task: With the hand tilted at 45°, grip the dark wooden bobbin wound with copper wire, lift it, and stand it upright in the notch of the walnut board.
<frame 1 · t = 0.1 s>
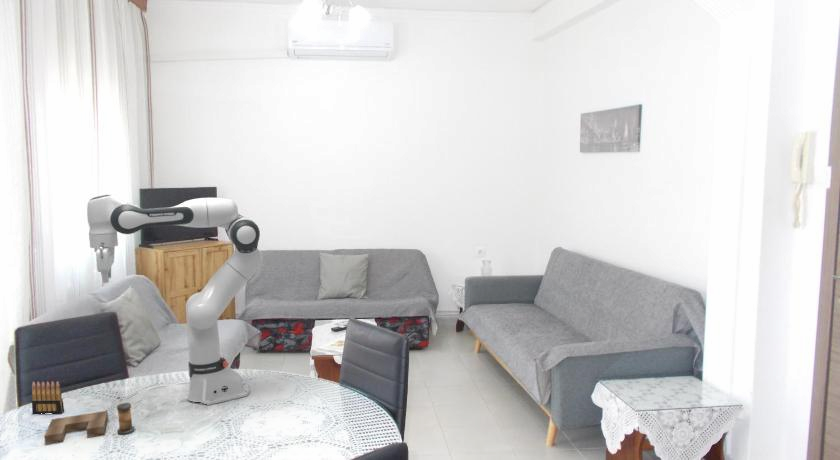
hand: (107, 280, 221), 48 cm above the table, tool pointing down, fingers open, 8 cm apart
ammunition clip: (48, 413, 226), on the table
bobbin: (126, 431, 209), on the table
notched board: (78, 431, 210), on the table
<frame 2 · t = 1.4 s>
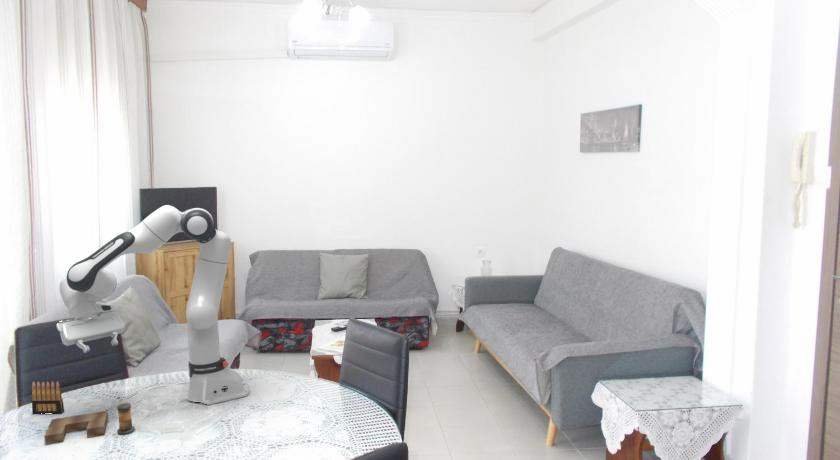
hand: (101, 347, 213), 26 cm above the table, tool tilted 45°, fingers open, 8 cm apart
nothing on the table moved.
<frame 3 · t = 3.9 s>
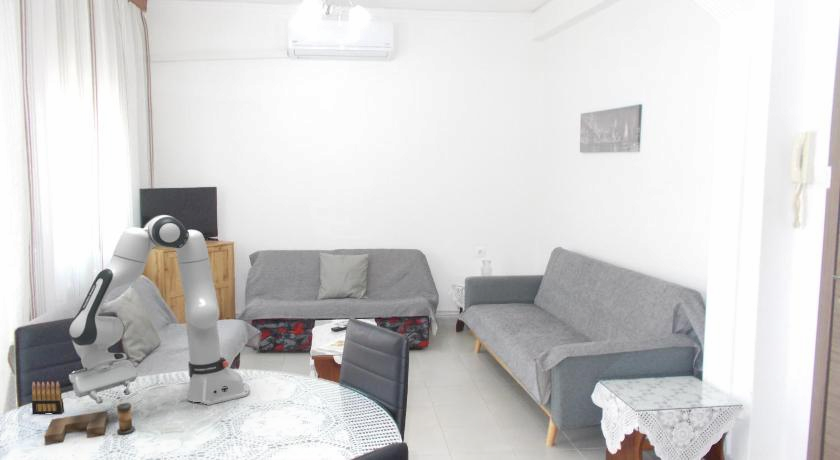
hand: (114, 398, 211), 10 cm above the table, tool tilted 45°, fingers open, 8 cm apart
nothing on the table moved.
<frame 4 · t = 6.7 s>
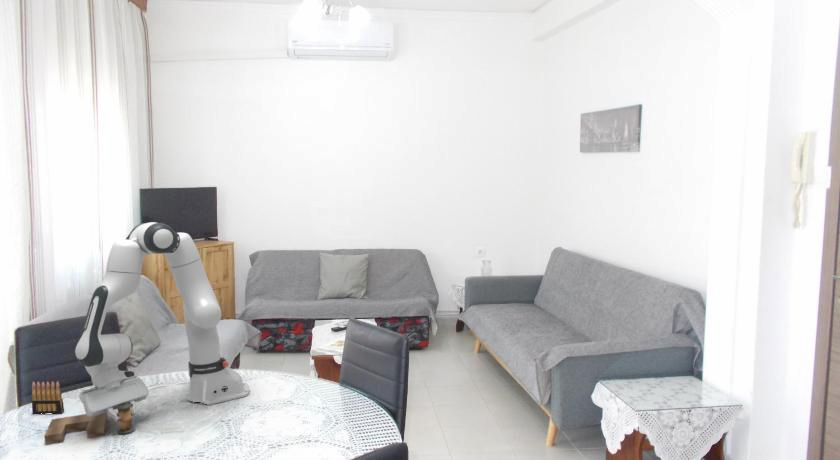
hand: (125, 417, 208), 5 cm above the table, tool tilted 45°, fingers closed on bobbin, 4 cm apart
bobbin: (126, 431, 209), on the table, touching gripper
everything else where it was.
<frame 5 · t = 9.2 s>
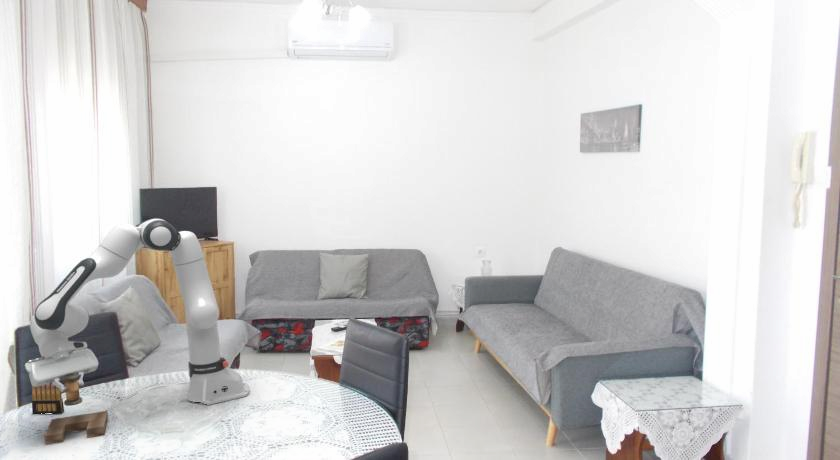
hand: (72, 388, 204), 16 cm above the table, tool tilted 45°, fingers closed on bobbin, 4 cm apart
bobbin: (73, 402, 205), point 11 cm above the table, touching gripper
everything else where it was.
when the fingers open (6 cm above the table, at t = 11.8 s): bobbin stays where it is, on the table.
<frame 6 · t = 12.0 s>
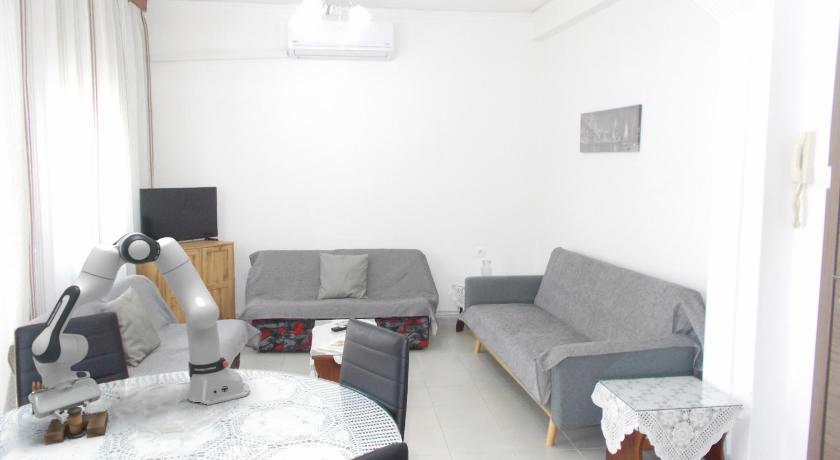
hand: (76, 418, 206), 6 cm above the table, tool tilted 45°, fingers open, 5 cm apart
bobbin: (76, 435, 207), on the table
everything else where it was.
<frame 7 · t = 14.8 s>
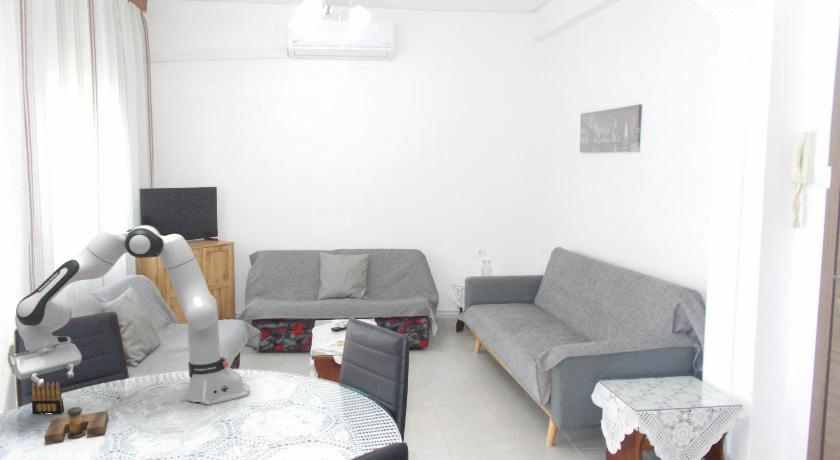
hand: (56, 380, 212), 16 cm above the table, tool tilted 45°, fingers open, 8 cm apart
nothing on the table moved.
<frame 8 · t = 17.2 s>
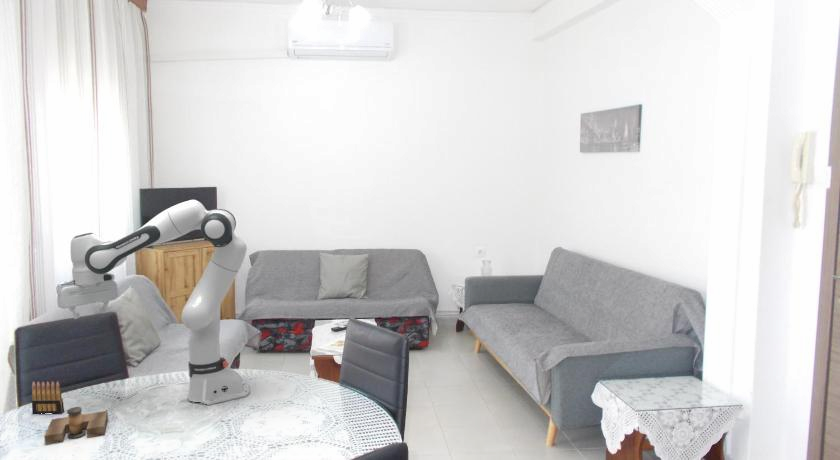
hand: (90, 315, 228), 34 cm above the table, tool pointing down, fingers open, 8 cm apart
nothing on the table moved.
at the end: bobbin 0.2 cm from the target spot on the notched board, point 0.0 cm above the notched board's base; bobbin tilted 0°; the gripper is holding nothing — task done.
